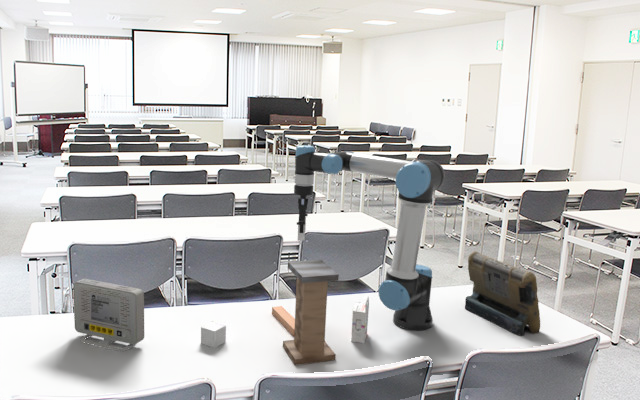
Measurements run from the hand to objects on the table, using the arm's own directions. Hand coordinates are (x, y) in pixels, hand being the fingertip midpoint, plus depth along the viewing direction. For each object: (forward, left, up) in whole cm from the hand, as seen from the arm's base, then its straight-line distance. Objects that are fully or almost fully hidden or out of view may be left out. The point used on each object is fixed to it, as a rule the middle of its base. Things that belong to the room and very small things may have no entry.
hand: (301, 236), depth 230 cm
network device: (+63, +43, -29) cm, 82 cm away
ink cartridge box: (-23, +31, -29) cm, 48 cm away
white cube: (+28, +40, -29) cm, 57 cm away
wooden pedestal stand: (-5, +45, -29) cm, 54 cm away
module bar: (+4, +21, -29) cm, 36 cm away
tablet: (-81, +8, -29) cm, 87 cm away
